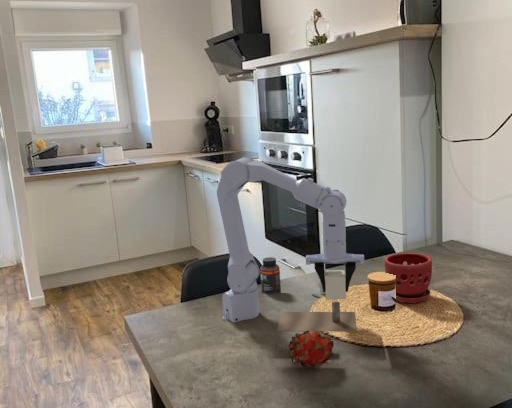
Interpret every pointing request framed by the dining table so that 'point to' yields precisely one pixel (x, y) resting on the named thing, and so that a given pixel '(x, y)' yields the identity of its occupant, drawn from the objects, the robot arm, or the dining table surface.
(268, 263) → the supplement bottle
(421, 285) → the plant pot
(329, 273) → the white hollow block
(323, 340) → the dragon fruit
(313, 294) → the pacifier
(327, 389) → the dining table surface
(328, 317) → the post board
